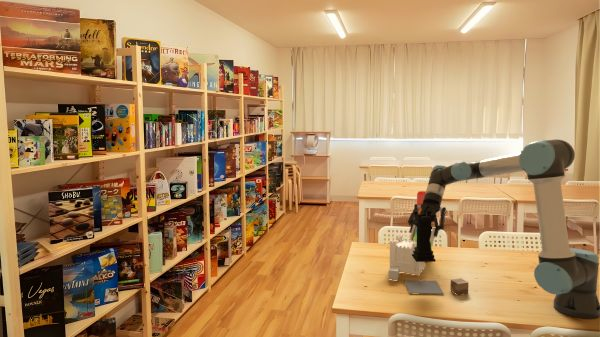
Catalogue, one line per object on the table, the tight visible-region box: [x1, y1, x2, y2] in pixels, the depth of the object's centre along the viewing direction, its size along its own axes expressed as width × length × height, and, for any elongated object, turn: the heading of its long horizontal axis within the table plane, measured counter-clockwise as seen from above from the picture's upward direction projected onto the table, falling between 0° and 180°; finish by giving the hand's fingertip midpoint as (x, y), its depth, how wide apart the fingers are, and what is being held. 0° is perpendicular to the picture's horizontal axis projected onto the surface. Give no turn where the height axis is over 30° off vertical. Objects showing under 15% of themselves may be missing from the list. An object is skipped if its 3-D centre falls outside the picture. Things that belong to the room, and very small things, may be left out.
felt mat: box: [403, 279, 445, 295], centre depth 190 cm, size 14×14×1 cm
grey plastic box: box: [388, 265, 400, 281], centre depth 200 cm, size 6×4×5 cm, turn 161°
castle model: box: [389, 233, 426, 276], centre depth 212 cm, size 14×14×15 cm
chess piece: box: [412, 211, 437, 263], centre depth 187 cm, size 8×8×20 cm
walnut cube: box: [449, 277, 469, 296], centre depth 184 cm, size 5×5×5 cm
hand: (421, 240), depth 184 cm, fingers closed on chess piece, 8 cm apart
